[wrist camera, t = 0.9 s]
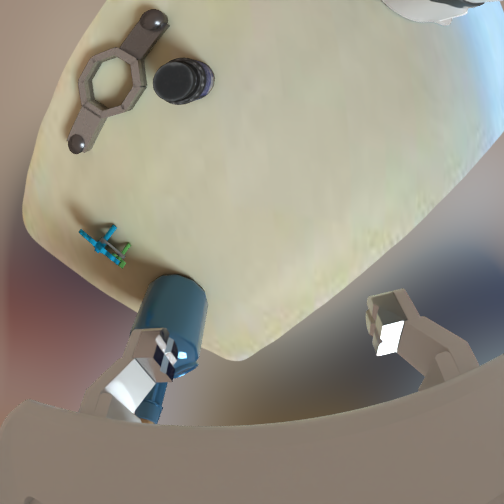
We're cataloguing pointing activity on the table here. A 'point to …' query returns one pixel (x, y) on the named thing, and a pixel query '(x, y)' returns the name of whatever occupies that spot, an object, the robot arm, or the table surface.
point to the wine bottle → (172, 330)
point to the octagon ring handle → (134, 54)
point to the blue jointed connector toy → (103, 242)
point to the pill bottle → (183, 81)
